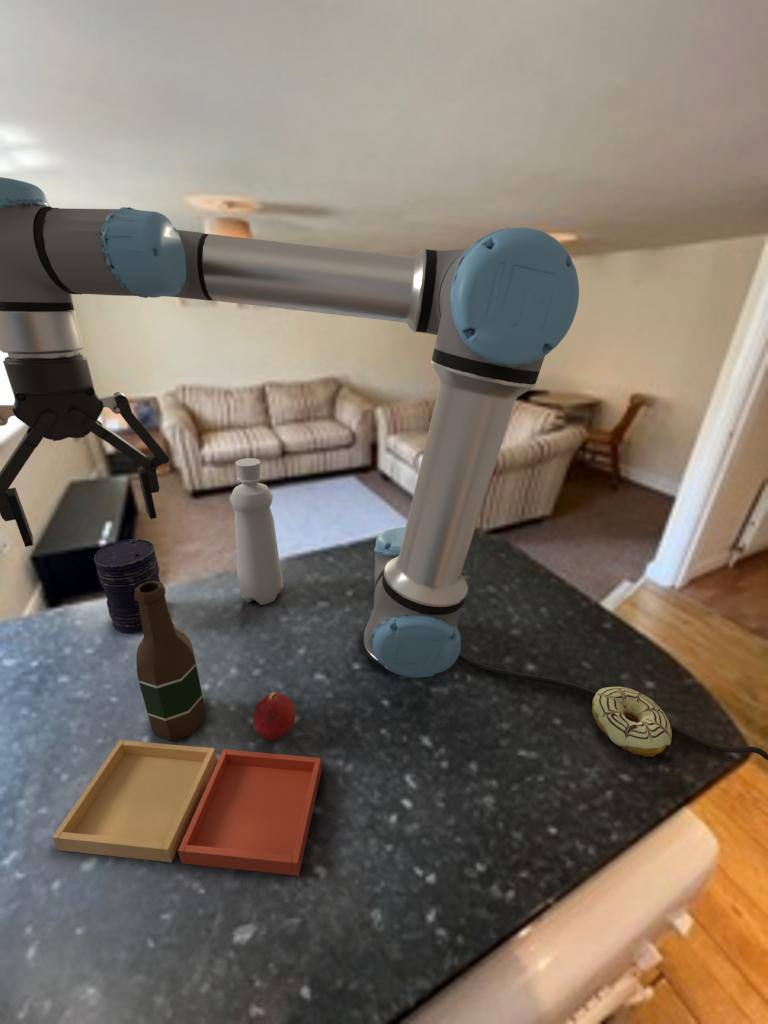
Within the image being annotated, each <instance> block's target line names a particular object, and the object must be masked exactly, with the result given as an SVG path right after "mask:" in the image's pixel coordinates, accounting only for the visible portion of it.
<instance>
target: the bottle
mask: <svg viewBox="0 0 768 1024" xmlns="http://www.w3.org/2000/svg"><path fill="white" fill-rule="evenodd" d="M234 465H235V468H236V473H237V476H238V477H237V478H236V480H237V481H239V482H240V483H241V484H238V485H237V486H235V487H234V488H233V490H232V492H231V493H230V494H231V495H230V496H229V501H230V503H231V506H232V508H233V509H234V520H233V521H234V535H235V549H236V559H237V571H236V577H237V582H238V583H237V584H238V590H239V596H240V597H241V598H242V599H243V600H244V601H245V602H246V603H248V604H250V603H251V602H252V601H255V602H256V603H258V604H259V605H260V606H264V605H269V604H271V603H272V602H275V600H276V599H277V596H278V594H280V593H281V592H282V590H283V589H284V581H283V569H282V566H281V561H280V555H279V548H278V542H277V541H278V539H277V534H276V527H275V519H274V516H273V513H272V509H271V505H272V503H273V498H274V495H273V492H272V491H271V489H270V488H269V487H268V485H267V484H264V483H261V482H259V481H260V480H261V479H262V478H263V476H262V475H261V460H260V459H258V458H253V457H248V458H247V457H246V458H240V459H238V460H236V461H235V462H234Z"/></svg>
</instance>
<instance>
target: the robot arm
mask: <svg viewBox="0 0 768 1024" xmlns="http://www.w3.org/2000/svg"><path fill="white" fill-rule="evenodd" d="M579 282H580V281H579V276H578V272H577V269H576V266H575V264H574V263H573V260H572V257H571V256H570V254H569V252H568V250H566V248H565V247H564V245H563V244H562V243H561V242H559V241H558V240H557V239H556V238H555V237H553V236H552V235H550V234H548V233H546V232H545V231H542V230H540V229H535V228H530V227H512V228H511V227H507V228H502V229H500V228H499V229H497V230H495V231H491V232H489V233H487V234H485V235H483V236H482V237H480V238H479V239H478V240H477V241H475V242H474V243H473V244H472V245H471V246H469V247H465V248H460V249H451V250H436V249H429V248H422V249H421V250H420V251H418V252H417V253H416V254H415V255H413V256H406V255H397V254H390V253H389V254H387V253H379V252H371V251H362V250H354V249H353V250H352V249H346V248H335V247H326V246H319V245H310V244H301V243H292V242H283V241H274V240H265V239H256V238H250V237H249V238H248V237H238V236H230V235H222V234H215V233H214V234H213V233H204V232H201V231H199V232H198V231H191V230H190V231H189V230H182V229H177V228H176V227H174V226H173V223H172V221H171V220H170V219H169V217H168V216H166V215H164V214H162V213H161V212H159V211H153V210H140V209H136V208H132V207H130V206H129V207H126V206H125V207H124V206H122V207H120V208H64V207H63V208H61V207H52V206H51V205H50V204H49V200H48V197H47V196H46V193H45V192H44V191H43V189H41V188H40V187H38V186H37V185H35V184H33V183H30V182H27V181H23V180H18V179H14V178H9V177H3V176H0V352H1V353H4V354H5V353H6V354H7V356H6V357H4V360H3V361H2V363H3V366H4V369H5V372H6V375H7V379H8V381H9V385H10V387H11V391H12V394H13V397H14V403H13V404H0V427H1V426H2V427H4V426H6V425H7V424H8V422H9V419H10V418H11V417H15V418H17V419H18V420H19V421H20V422H22V423H23V424H25V425H26V426H28V428H27V429H26V431H25V433H24V434H23V436H22V438H21V440H20V441H19V442H18V444H17V446H15V449H14V450H13V452H12V453H11V455H10V456H9V458H8V459H7V460H6V462H5V464H4V465H3V466H2V468H1V470H0V517H1V519H2V520H3V521H4V522H10V521H15V523H16V527H17V528H18V531H19V533H20V536H21V539H22V542H23V544H24V547H25V548H28V547H31V546H34V536H33V533H32V530H31V527H30V524H29V521H28V519H27V516H26V514H25V510H24V508H23V504H22V502H21V500H20V499H21V498H20V496H19V492H18V491H17V488H16V487H11V486H12V484H13V483H14V481H15V480H16V478H17V476H18V475H19V473H20V472H21V471H22V469H23V467H24V466H25V465H26V463H27V462H28V460H29V459H30V457H31V455H32V454H33V452H34V451H35V449H36V448H38V446H39V445H40V444H41V442H42V440H43V439H46V440H50V441H52V442H57V441H63V440H66V439H68V438H69V439H70V438H71V439H81V438H85V437H86V436H88V435H89V434H90V433H92V434H94V435H95V436H96V437H98V438H99V439H101V440H103V441H105V442H106V443H108V444H109V445H110V446H112V447H113V448H115V449H116V450H118V451H119V452H120V453H122V454H124V456H126V457H128V459H130V460H131V461H133V462H134V463H136V464H138V465H139V467H136V470H137V475H138V479H139V483H140V488H141V494H142V497H143V501H144V502H143V503H144V506H145V511H146V514H147V515H148V517H149V519H150V520H153V519H157V518H158V517H157V512H156V508H155V503H154V498H153V494H154V493H159V491H160V485H159V480H158V479H159V478H158V474H157V470H158V467H160V466H161V465H167V464H168V463H169V462H170V457H169V456H168V454H167V453H166V452H165V451H164V449H163V448H162V447H161V446H160V445H159V443H158V442H157V441H156V440H155V438H153V436H152V435H151V434H150V432H149V431H148V430H147V429H146V427H145V426H144V425H143V424H142V423H141V421H140V420H139V419H138V418H137V417H136V415H135V414H134V413H133V410H132V408H131V405H130V402H129V399H128V398H127V396H125V394H124V393H122V392H121V391H117V392H114V394H113V395H107V396H102V397H99V396H98V395H97V393H96V390H95V386H94V383H93V379H92V374H91V371H90V367H89V363H88V358H87V357H86V356H85V355H84V354H81V352H80V351H82V350H83V349H84V348H85V345H84V342H83V338H82V334H81V330H80V325H79V323H78V318H77V314H76V311H75V307H74V303H73V297H72V295H97V296H116V297H117V296H119V297H120V296H121V297H123V296H124V297H139V298H144V299H148V298H154V299H155V298H160V297H169V298H181V299H190V300H199V301H208V302H211V301H212V302H222V303H228V304H229V303H230V304H237V305H238V304H240V305H247V306H255V307H256V306H257V307H264V308H265V307H267V308H275V309H284V310H292V311H300V312H311V313H319V314H329V315H336V316H337V315H338V316H346V317H355V318H363V319H372V320H382V321H388V322H389V321H390V322H396V323H397V322H398V323H405V324H406V325H407V326H408V328H410V330H411V331H412V332H414V333H424V334H428V335H429V334H430V335H434V336H436V339H435V343H434V348H433V351H432V356H431V361H430V364H431V366H432V367H433V369H434V371H435V372H436V374H437V376H438V378H439V386H438V390H437V394H436V400H435V404H434V407H433V412H432V416H431V420H430V424H429V429H428V432H427V436H426V441H425V444H424V445H425V446H424V450H423V453H422V458H421V462H420V466H419V471H418V474H417V479H416V483H415V487H414V490H413V491H414V492H413V494H412V495H413V496H412V500H411V503H410V508H409V511H408V515H407V516H408V517H407V520H406V525H405V526H404V527H403V526H402V527H394V528H390V529H387V530H385V531H383V532H381V533H379V535H378V536H377V537H376V539H375V540H376V541H375V547H374V549H373V551H374V553H375V554H374V590H373V591H374V592H373V593H374V594H373V610H372V612H371V614H370V616H369V619H368V621H367V624H366V626H365V629H364V632H363V649H364V652H365V654H366V656H367V658H369V660H370V661H371V662H372V663H373V664H374V665H375V666H377V667H379V668H380V669H382V670H384V671H388V672H389V673H393V674H395V675H398V676H401V677H406V678H414V679H415V678H416V679H420V678H429V677H433V676H434V675H435V674H441V673H444V672H445V671H446V670H448V669H450V667H452V666H453V665H454V664H455V663H456V662H457V660H458V659H459V660H460V661H461V662H464V663H466V664H468V665H470V666H473V667H475V668H478V669H480V670H485V671H487V672H491V673H494V674H495V673H496V674H500V675H504V676H509V677H512V678H517V679H521V680H522V679H523V680H529V681H535V682H541V683H545V684H546V683H547V684H551V685H556V686H560V687H564V688H568V689H570V690H575V691H577V692H580V693H583V694H587V695H589V696H591V697H595V694H596V693H597V692H598V691H595V690H592V689H590V688H587V687H583V686H581V685H578V684H575V683H571V682H567V681H564V680H560V679H555V678H550V677H546V676H541V675H540V676H539V675H534V674H526V673H523V672H522V673H521V672H517V671H512V670H509V669H503V668H498V667H494V666H490V665H487V664H483V663H480V662H478V661H476V660H473V659H470V658H468V657H466V656H464V655H463V654H461V647H462V646H461V645H462V644H461V643H462V636H461V633H460V631H459V629H458V628H459V622H460V621H459V620H460V617H461V614H462V611H463V609H464V605H465V603H466V602H465V601H466V598H467V596H468V593H469V585H468V583H467V580H466V578H465V577H464V576H463V574H462V573H463V570H464V566H465V563H466V560H467V556H468V554H469V551H470V547H471V544H472V541H473V538H474V534H475V530H476V528H477V524H478V522H479V519H480V515H481V513H482V509H483V506H484V503H485V499H486V496H487V492H488V490H489V486H490V484H491V480H492V476H493V473H494V470H495V467H496V464H497V461H498V457H499V456H500V451H501V448H502V445H503V442H504V438H505V435H506V433H507V429H508V426H509V422H510V420H511V416H512V413H513V410H514V407H515V403H516V400H517V399H518V398H519V397H520V396H522V395H523V394H525V393H527V392H529V391H530V390H532V389H533V388H535V387H536V385H537V381H538V378H539V375H540V372H541V369H542V367H543V363H544V360H545V357H546V356H547V355H548V354H549V353H551V352H552V351H553V350H555V348H557V346H558V345H560V343H561V342H562V341H563V339H564V338H565V337H566V336H567V334H568V332H569V331H570V329H571V327H572V324H573V322H574V320H575V317H576V315H577V310H578V306H579V299H580V283H579ZM104 408H108V409H109V410H110V411H111V412H112V413H114V414H116V415H119V414H120V416H121V417H122V418H123V420H124V421H125V422H126V423H127V425H128V426H129V427H130V428H131V429H132V431H133V432H134V433H135V434H136V435H137V437H138V438H139V439H140V440H141V441H142V443H143V444H144V445H145V446H146V447H147V449H148V450H149V451H150V452H151V453H152V454H151V455H150V456H148V455H146V454H145V453H143V452H142V451H140V449H138V448H137V447H135V446H134V445H133V444H131V443H130V442H128V441H127V440H125V438H123V437H121V436H120V435H119V434H117V433H116V432H114V431H113V430H111V428H109V427H108V426H107V425H106V424H104V423H102V421H100V420H99V418H100V416H101V414H102V412H103V410H104ZM10 487H11V488H10ZM670 727H671V731H672V732H674V733H676V734H678V735H680V736H682V737H683V738H685V739H688V740H690V741H692V742H694V743H696V744H699V745H702V746H704V747H706V748H710V749H713V750H715V751H719V752H723V753H730V754H731V753H732V754H733V753H734V754H738V753H754V754H757V755H759V756H761V757H762V758H763V759H764V760H766V761H768V753H767V751H765V750H763V748H760V747H758V746H754V745H753V746H752V745H740V746H739V745H737V746H733V745H731V746H728V745H722V744H718V743H715V742H712V741H710V740H706V739H704V738H701V737H699V736H696V735H695V734H692V733H690V732H688V731H686V730H684V729H682V728H680V727H677V726H675V725H674V724H671V723H670Z"/></svg>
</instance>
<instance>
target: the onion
mask: <svg viewBox="0 0 768 1024" xmlns="http://www.w3.org/2000/svg"><path fill="white" fill-rule="evenodd" d="M295 721H296V708H295V705H294V703H293V702H292V701H291V699H290V698H289V697H287V696H286V695H284V694H281V693H278V692H277V691H272V692H269V694H268V695H266V696H264V697H263V698H262V699H260V700H259V702H258V703H257V705H256V706H255V708H254V711H253V717H252V722H253V723H252V724H254V728H255V732H256V733H257V734H258V735H259V736H260V737H261V738H263V739H264V740H268V741H274V740H279V739H281V738H282V737H284V736H286V735H287V734H288V733H289V732H290V731H291V730H292V729H293V726H294V723H295Z"/></svg>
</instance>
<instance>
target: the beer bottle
mask: <svg viewBox="0 0 768 1024" xmlns="http://www.w3.org/2000/svg"><path fill="white" fill-rule="evenodd" d="M164 594H165V596H164ZM165 597H166V587H165V585H164V583H163V582H161V581H160V582H157V581H151V582H146V583H142V584H141V585H140V586H138V587H137V588H135V601H138V604H139V610H140V616H141V622H142V628H143V632H142V634H143V638H142V640H141V641H140V642H139V644H138V646H137V649H136V654H135V659H136V663H135V664H136V674H137V681H138V684H139V688H140V691H141V695H142V698H143V702H144V706H145V709H146V712H147V716H148V719H149V724H150V727H151V729H152V732H153V735H154V736H156V737H158V738H162V739H164V740H167V741H171V742H174V741H176V740H180V739H182V738H184V737H187V736H190V735H193V734H194V733H195V732H196V730H197V729H198V728H199V726H200V725H201V724H202V723H203V722H204V721H205V720H206V717H207V713H206V706H205V702H204V695H203V691H202V686H201V681H200V676H199V671H198V666H197V661H196V655H195V652H194V651H195V650H194V648H193V644H192V641H191V639H190V638H189V637H188V636H187V634H186V633H184V632H182V631H181V630H180V629H177V628H176V625H175V624H174V622H173V619H172V616H171V612H170V609H169V606H168V603H167V598H166V599H165Z"/></svg>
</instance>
